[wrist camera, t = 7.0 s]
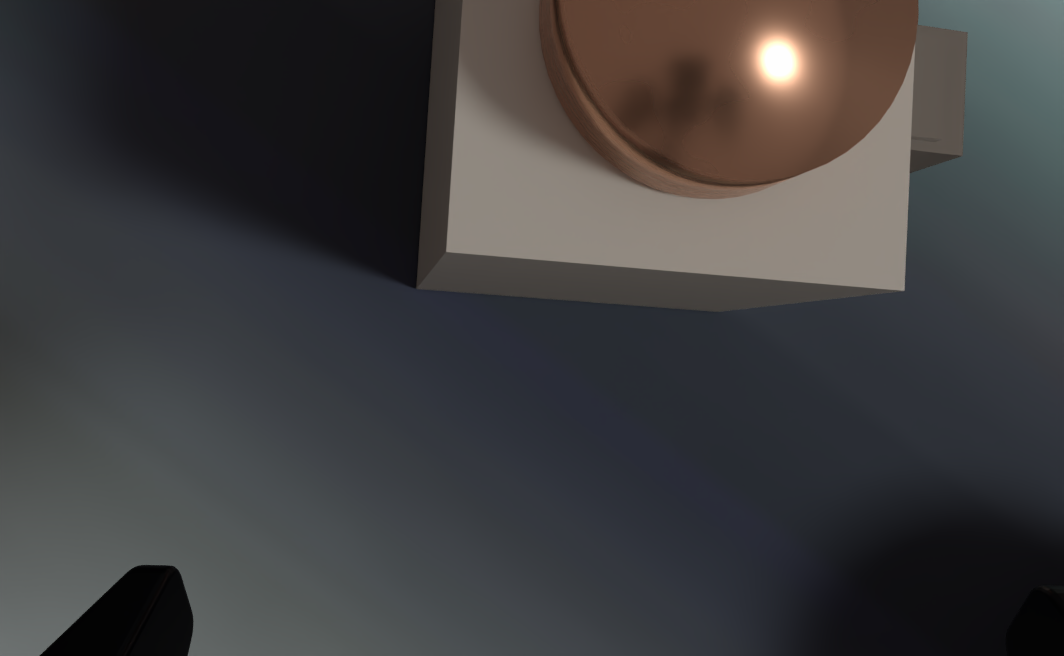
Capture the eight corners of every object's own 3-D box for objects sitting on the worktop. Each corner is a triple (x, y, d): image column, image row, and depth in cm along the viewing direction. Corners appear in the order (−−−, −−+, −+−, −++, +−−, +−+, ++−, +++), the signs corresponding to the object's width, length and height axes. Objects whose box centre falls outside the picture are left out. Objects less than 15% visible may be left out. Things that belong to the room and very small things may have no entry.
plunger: (724, 250, 20) (910, 197, 13) (483, 228, 18) (549, 158, 12) (736, 11, 20) (926, -163, 13) (499, -24, 19) (573, -233, 12)
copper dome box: (779, 316, 23) (994, 298, 15) (416, 289, 21) (446, 251, 13) (794, 26, 23) (1011, -139, 15) (437, -27, 21) (478, -245, 14)
